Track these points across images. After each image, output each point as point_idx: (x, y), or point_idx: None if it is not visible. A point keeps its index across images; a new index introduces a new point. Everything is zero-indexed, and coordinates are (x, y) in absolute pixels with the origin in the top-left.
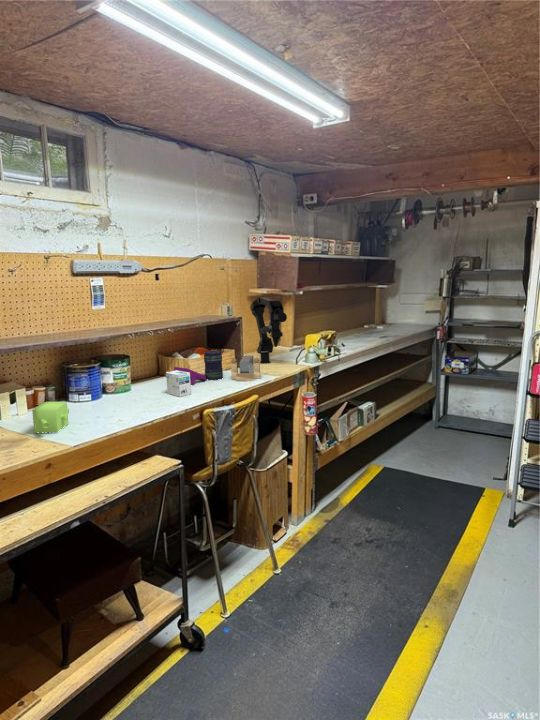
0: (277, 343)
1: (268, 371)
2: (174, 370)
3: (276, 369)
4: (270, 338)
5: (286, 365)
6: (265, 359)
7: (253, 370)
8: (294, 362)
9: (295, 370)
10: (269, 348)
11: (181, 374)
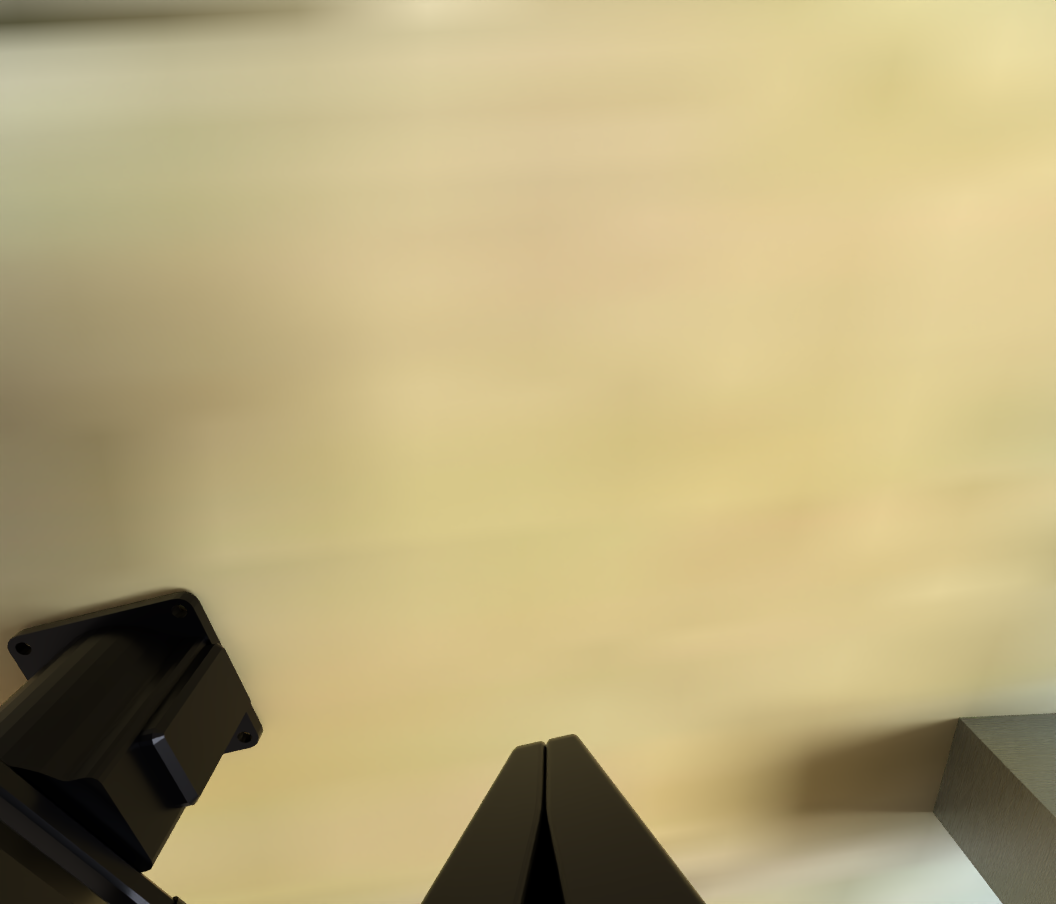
0: (653, 851)
1: (958, 533)
2: None
3: (817, 422)
4: None
5: (428, 258)
6: (217, 717)
7: (1049, 746)
8: (32, 79)
9: (1017, 3)
10: (9, 875)
11: None
